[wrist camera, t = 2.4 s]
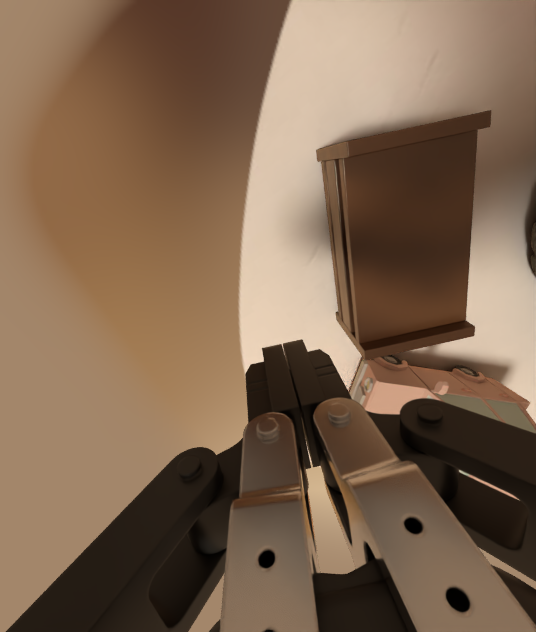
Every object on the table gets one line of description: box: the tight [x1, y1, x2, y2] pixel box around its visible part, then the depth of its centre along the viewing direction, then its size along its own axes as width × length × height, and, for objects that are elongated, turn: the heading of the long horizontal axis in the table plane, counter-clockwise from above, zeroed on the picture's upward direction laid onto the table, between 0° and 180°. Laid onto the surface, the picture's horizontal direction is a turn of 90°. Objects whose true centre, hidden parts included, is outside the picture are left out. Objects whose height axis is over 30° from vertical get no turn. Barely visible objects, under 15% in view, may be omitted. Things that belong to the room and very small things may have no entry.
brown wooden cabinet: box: [316, 110, 491, 360], centre depth 24 cm, size 14×8×7 cm, turn 11°
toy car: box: [349, 355, 536, 499], centre depth 29 cm, size 9×15×10 cm, turn 77°
